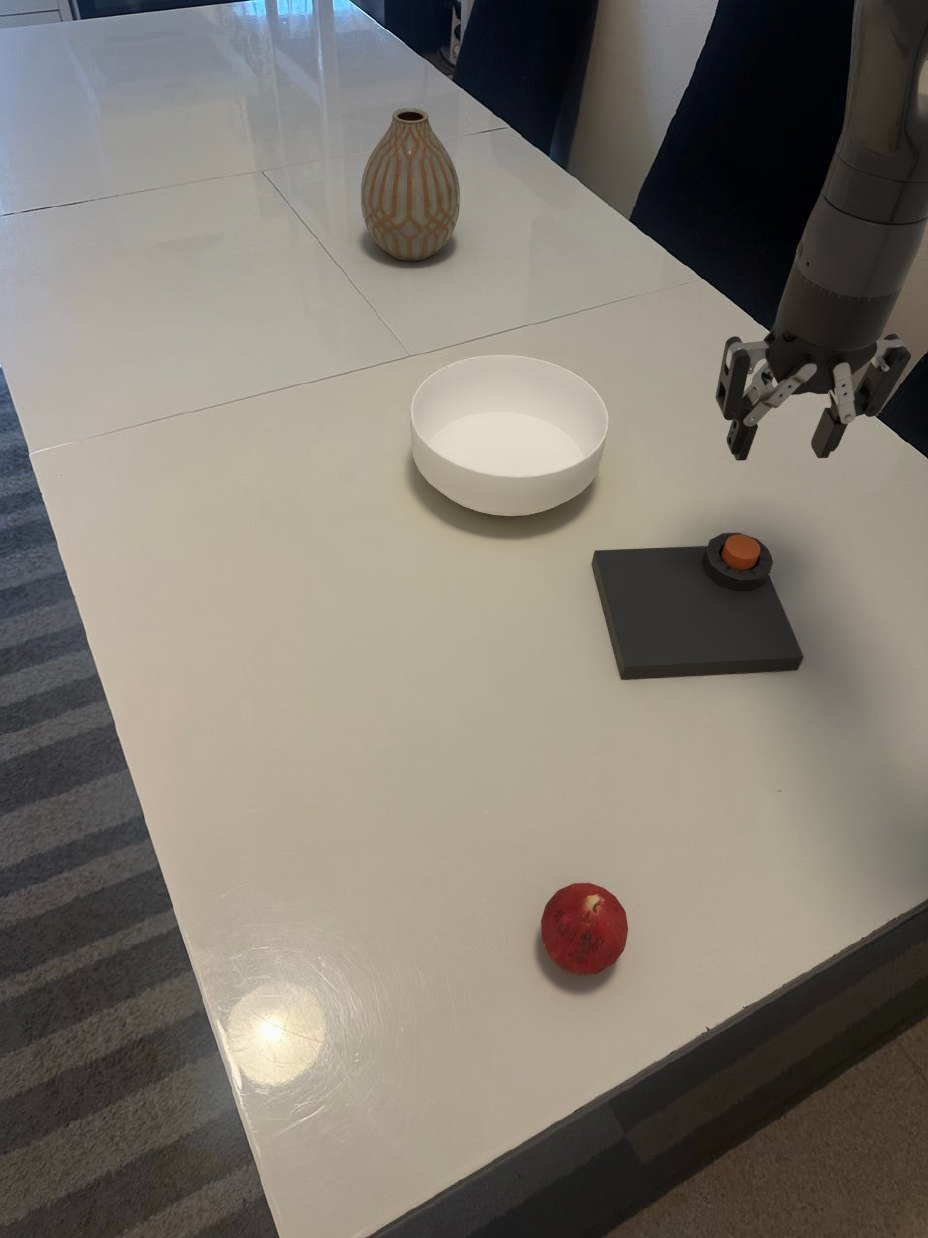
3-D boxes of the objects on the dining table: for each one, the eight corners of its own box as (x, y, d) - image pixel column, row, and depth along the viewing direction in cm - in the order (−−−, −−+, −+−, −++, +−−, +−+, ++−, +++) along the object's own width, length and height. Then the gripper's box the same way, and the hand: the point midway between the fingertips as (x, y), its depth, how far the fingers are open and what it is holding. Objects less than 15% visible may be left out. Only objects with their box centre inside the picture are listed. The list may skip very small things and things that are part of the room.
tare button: (750, 545, 87) (754, 533, 86) (760, 569, 85) (765, 558, 84) (717, 546, 87) (721, 534, 86) (726, 571, 85) (731, 559, 84)
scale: (751, 556, 90) (761, 531, 88) (797, 670, 81) (810, 645, 79) (591, 563, 89) (596, 537, 86) (620, 679, 80) (628, 655, 77)
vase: (343, 252, 125) (335, 116, 112) (401, 217, 133) (400, 85, 119) (420, 284, 121) (421, 146, 108) (476, 245, 128) (483, 112, 115)
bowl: (513, 573, 88) (521, 508, 81) (371, 476, 96) (367, 410, 89) (633, 477, 97) (649, 412, 91) (494, 397, 106) (500, 332, 99)
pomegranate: (607, 1003, 62) (628, 960, 56) (525, 974, 63) (537, 929, 57) (625, 924, 66) (647, 875, 60) (548, 898, 67) (561, 847, 61)
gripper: (767, 294, 61) (706, 486, 73) (973, 291, 62) (877, 480, 75) (735, 238, 65) (683, 427, 78) (926, 236, 67) (844, 422, 79)
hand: (778, 452), depth 76 cm, fingers open, 6 cm apart
